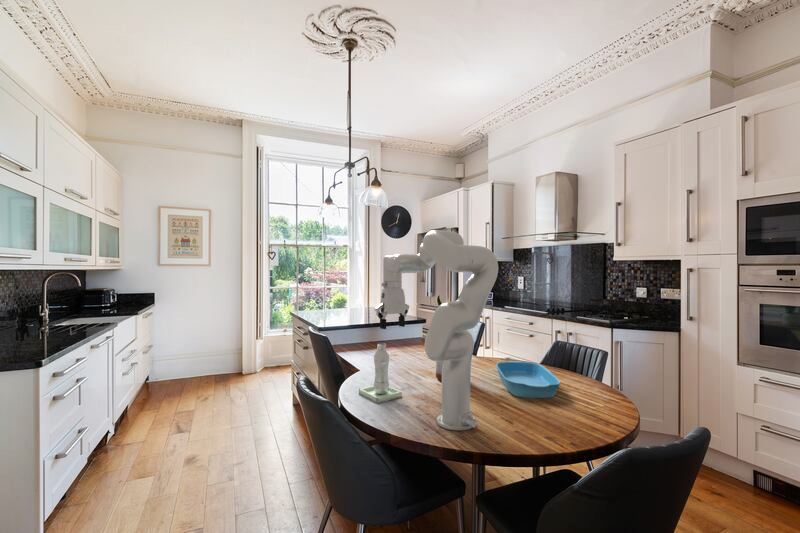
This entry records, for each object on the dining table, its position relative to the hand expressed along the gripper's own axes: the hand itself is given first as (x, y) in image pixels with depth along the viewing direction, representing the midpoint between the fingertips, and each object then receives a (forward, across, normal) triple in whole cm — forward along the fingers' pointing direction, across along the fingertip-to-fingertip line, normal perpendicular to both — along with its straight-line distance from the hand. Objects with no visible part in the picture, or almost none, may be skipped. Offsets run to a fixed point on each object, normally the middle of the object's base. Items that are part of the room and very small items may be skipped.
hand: (392, 327), depth 154 cm
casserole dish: (+28, +52, -29) cm, 65 cm away
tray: (+27, -5, +2) cm, 28 cm away
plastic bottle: (+27, -4, +3) cm, 27 cm away
